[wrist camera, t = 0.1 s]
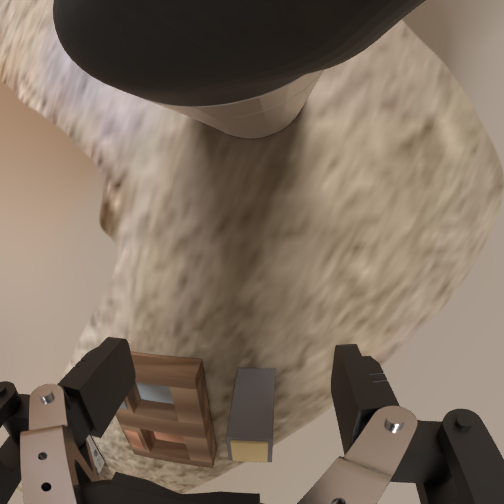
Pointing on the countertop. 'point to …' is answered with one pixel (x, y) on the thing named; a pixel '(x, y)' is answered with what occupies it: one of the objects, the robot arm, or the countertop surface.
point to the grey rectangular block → (252, 416)
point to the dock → (169, 411)
